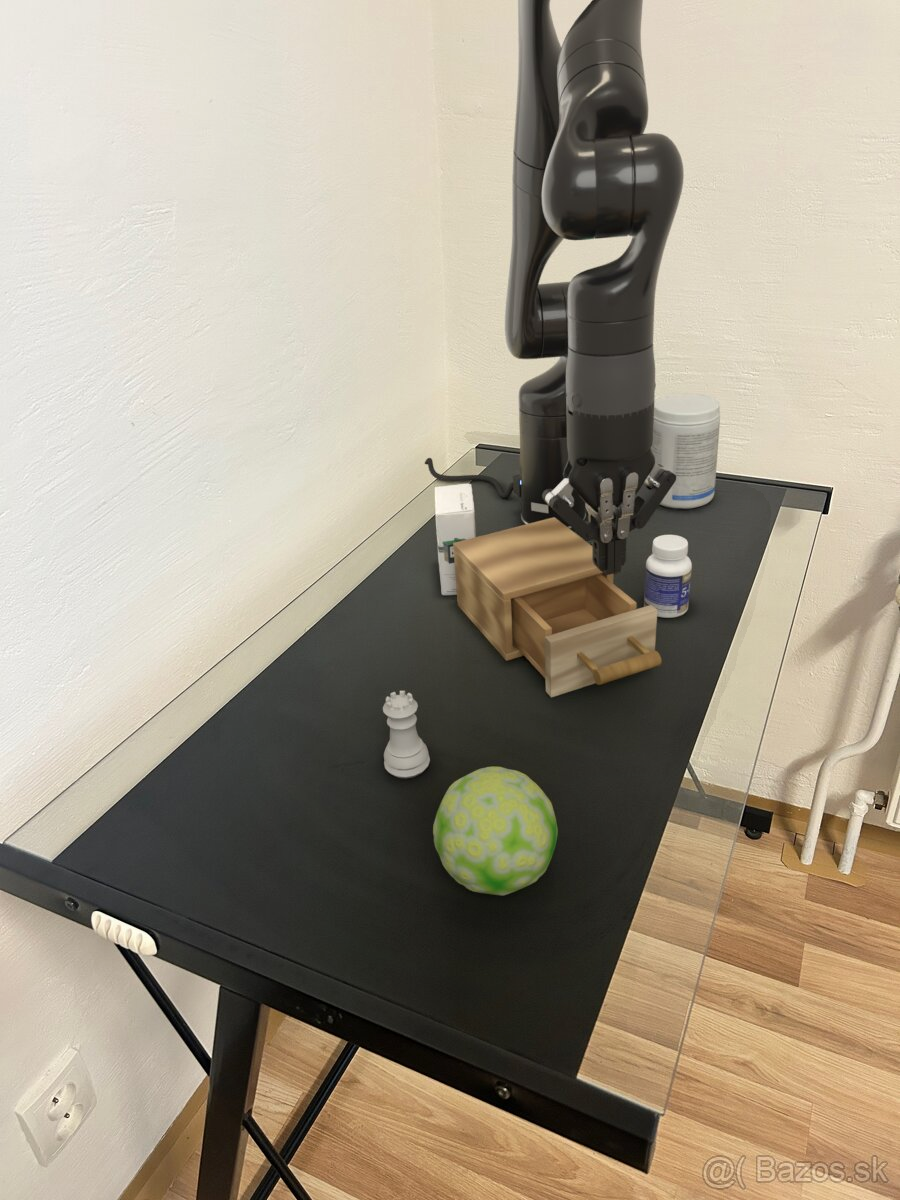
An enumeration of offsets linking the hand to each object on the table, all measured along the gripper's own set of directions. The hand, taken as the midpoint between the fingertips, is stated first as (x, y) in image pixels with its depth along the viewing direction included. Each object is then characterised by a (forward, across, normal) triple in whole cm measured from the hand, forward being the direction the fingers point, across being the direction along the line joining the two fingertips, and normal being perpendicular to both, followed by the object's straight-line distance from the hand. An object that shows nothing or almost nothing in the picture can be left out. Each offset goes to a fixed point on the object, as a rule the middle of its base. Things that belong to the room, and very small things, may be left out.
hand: (608, 570), depth 85 cm
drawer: (+14, 0, -5) cm, 15 cm away
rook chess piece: (+15, +23, +3) cm, 27 cm away
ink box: (+15, +7, -30) cm, 34 cm away
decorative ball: (+14, +19, +19) cm, 31 cm away
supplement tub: (+16, -32, -39) cm, 53 cm away
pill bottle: (+16, -14, -12) cm, 24 cm away
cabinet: (+15, +2, -17) cm, 23 cm away
